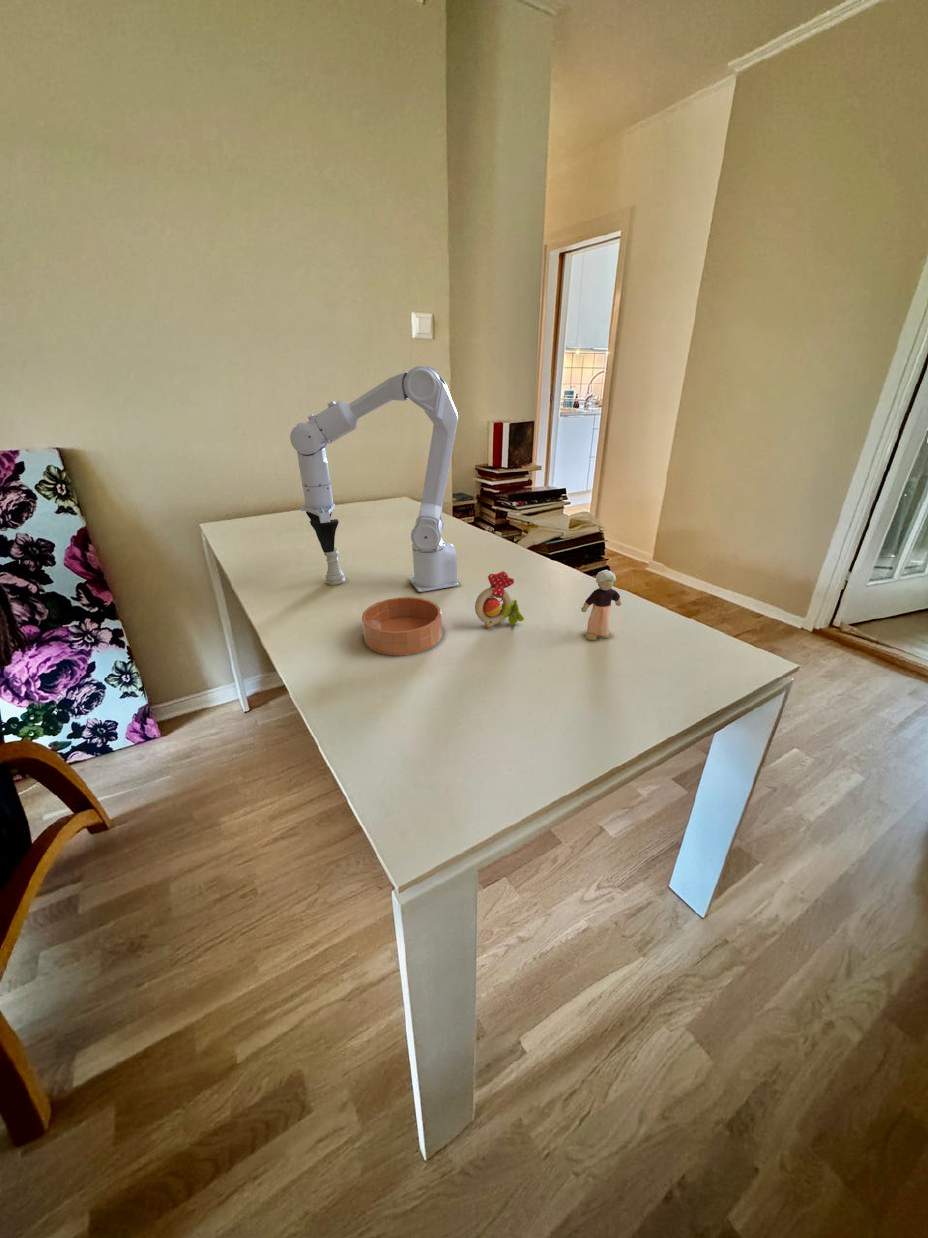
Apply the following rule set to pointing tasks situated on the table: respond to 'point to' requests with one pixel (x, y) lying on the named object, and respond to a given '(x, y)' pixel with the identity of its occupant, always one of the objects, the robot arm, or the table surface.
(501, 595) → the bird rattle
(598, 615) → the grandmother figurine
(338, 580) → the rook chess piece
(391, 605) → the pan
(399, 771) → the table surface
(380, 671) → the table surface
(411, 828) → the table surface
